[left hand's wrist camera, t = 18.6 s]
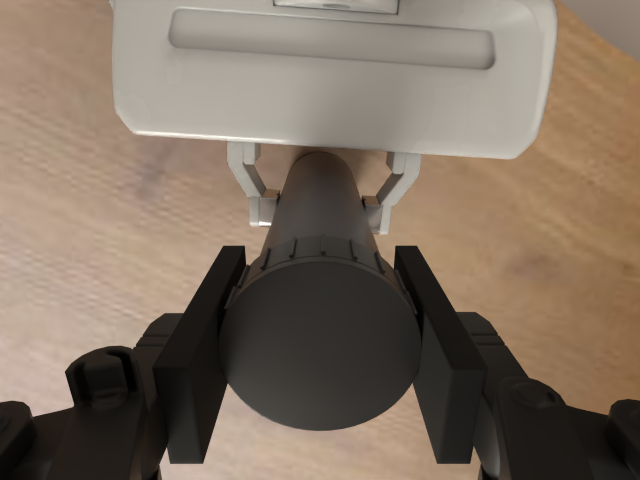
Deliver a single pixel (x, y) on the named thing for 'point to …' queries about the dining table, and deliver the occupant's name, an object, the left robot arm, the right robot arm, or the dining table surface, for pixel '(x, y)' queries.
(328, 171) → the grey capped tube
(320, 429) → the lid
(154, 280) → the dining table surface
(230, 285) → the left robot arm
